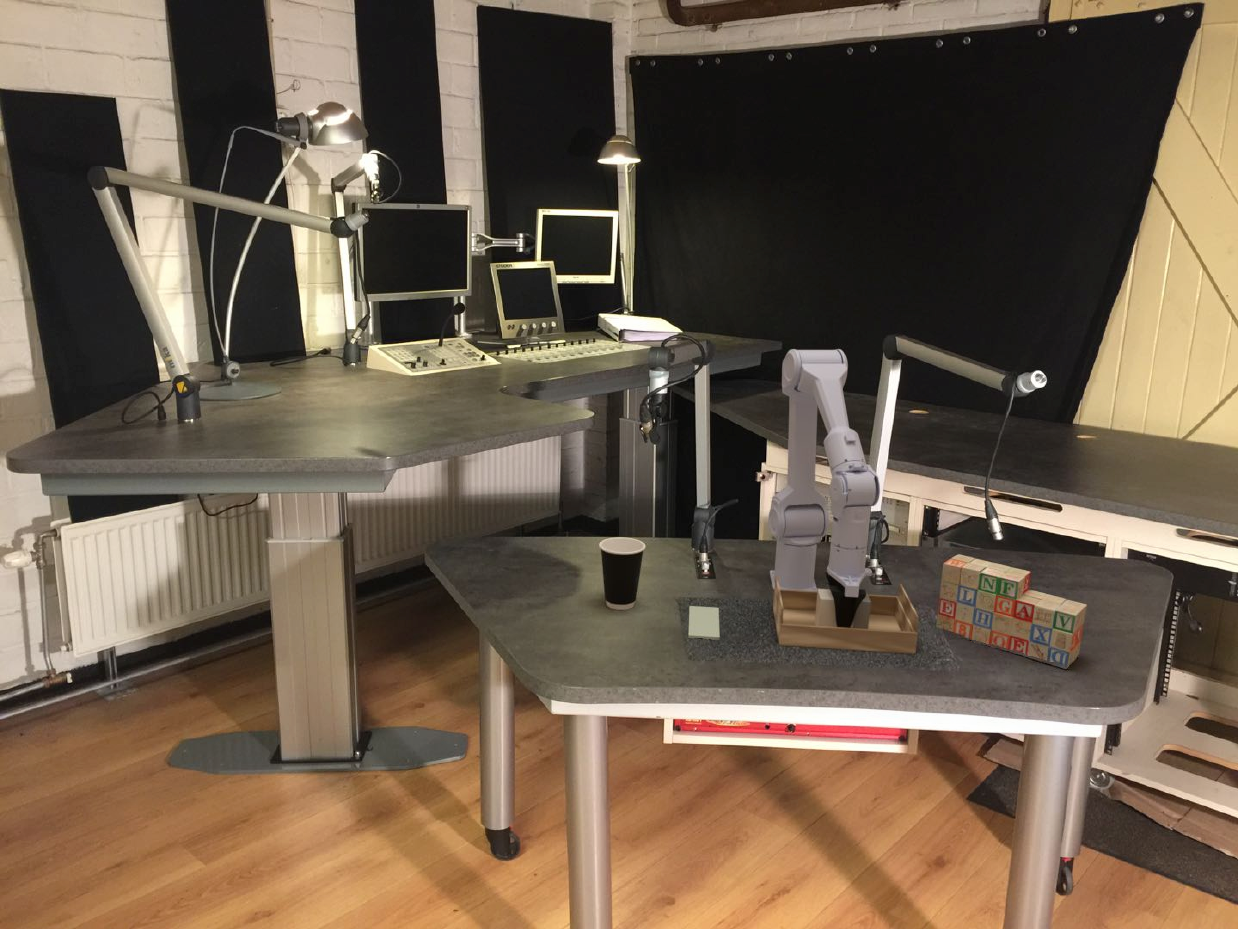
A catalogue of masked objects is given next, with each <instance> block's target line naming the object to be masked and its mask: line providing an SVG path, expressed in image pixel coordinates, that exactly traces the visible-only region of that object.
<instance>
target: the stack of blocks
mask: <svg viewBox="0 0 1238 929" xmlns="http://www.w3.org/2000/svg"><path fill="white" fill-rule="evenodd" d="M1031 574H1032V572H1031V571H1028V570H1024V569H1020V568H1016V567H1011V566H1008V565H1005V564H1000V563H996V562H993V561H992V562H991V561H987V560H983V559H979V558H975V557H972V556H967V555H963V554H958V553H957V555H955V556H952V557H951V558H950V559H948V560H947V561H945V562H943V565H942V574H941V580H940V589H939V600H938V610H937V616H936V617H937V618H936V628H939V629H941V630H945V631H949V632H952V633H954V634H958V635H961V636H963V639H965V638H970V639H972V640H976V641H980V642H983V643H986V644H994V645H996V646H999V647H1004V648H1006V649H1009V650H1015V651H1018V652H1021V653H1024V654H1026V655H1028V656H1034V657H1037V658H1040V659H1043V660H1046V661H1049V662H1056V663H1058V664H1061V665H1064V666H1067V667H1068V666H1069V664H1070V663H1071V662H1073V661H1074V660H1075V658H1076V657H1077V656H1078V655H1079V656H1080V651H1081V650H1080V649H1081V641H1082V639H1083V638H1082V637H1083V630H1084V623H1085V619H1086V613H1087V607H1088V605H1087V603H1082V602H1078V601H1074V600H1071V599H1066V598H1064V597H1060V596H1058V595H1057V596H1056V595H1052V594H1047V593H1045V592H1040V591H1037V590H1032V589H1029V588H1030V581H1031ZM1079 656H1078V657H1079Z"/></svg>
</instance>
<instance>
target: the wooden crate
mask: <svg viewBox="0 0 1238 929" xmlns="http://www.w3.org/2000/svg"><path fill="white" fill-rule="evenodd" d="M817 591H818V590H817ZM817 591H804V590H788V589H780V587H779V582H778V577H777V576H776V578H775V589H773V603H772V609H773V610H772V611H773V616H774V621H775V628H776V634H777V639H778V644H779V645H778V646H788V647H803V648H804V647H805V648H818V649H819V648H820V649H835V650H847V651H850V650H851V651H864V652H878V653H879V652H881V653H883V652H884V653H895V654H896V653H897V654H909V655H910V654H911V655H916V650H917V642H918V635H919V634H918V626H919V616H918V613H917V611H916V609H915V607H914V606H913V603H912V601H911V599H910V597H909V596H908V594H907V592H906V590H905V587H904V586H903V584H902V583H899V588H898V595H883V594H868V593H867V594H868V596H869V599H870V601H871V606H870V616H869V625H868V629H860V628H844V627H829V626H816V625H815V613H816V602H817Z"/></svg>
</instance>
